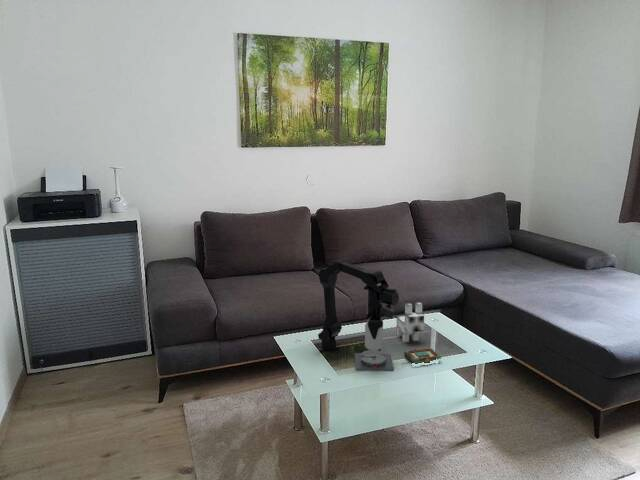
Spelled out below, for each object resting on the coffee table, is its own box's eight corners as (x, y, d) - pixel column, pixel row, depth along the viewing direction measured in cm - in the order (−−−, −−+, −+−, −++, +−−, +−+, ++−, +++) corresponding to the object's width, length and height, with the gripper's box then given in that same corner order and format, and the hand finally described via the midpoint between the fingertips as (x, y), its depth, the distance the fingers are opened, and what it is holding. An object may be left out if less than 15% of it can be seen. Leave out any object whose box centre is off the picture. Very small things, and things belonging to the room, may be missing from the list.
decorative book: (393, 359, 216) (393, 348, 215) (429, 354, 220) (430, 344, 219) (405, 372, 203) (405, 361, 202) (443, 367, 207) (444, 356, 206)
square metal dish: (355, 370, 205) (355, 362, 204) (354, 355, 219) (354, 347, 219) (393, 370, 204) (394, 363, 203) (390, 355, 219) (390, 348, 218)
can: (381, 352, 206) (382, 325, 204) (363, 350, 207) (364, 323, 205) (382, 344, 213) (383, 318, 211) (365, 343, 215) (366, 317, 212)
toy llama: (408, 332, 245) (409, 294, 241) (423, 346, 229) (424, 305, 225) (394, 333, 244) (395, 295, 240) (408, 347, 227) (409, 306, 223)
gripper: (395, 308, 197) (394, 344, 200) (391, 294, 215) (390, 327, 218) (368, 307, 197) (367, 344, 200) (366, 293, 215) (365, 327, 218)
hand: (373, 335), depth 209 cm, fingers closed on can, 7 cm apart
